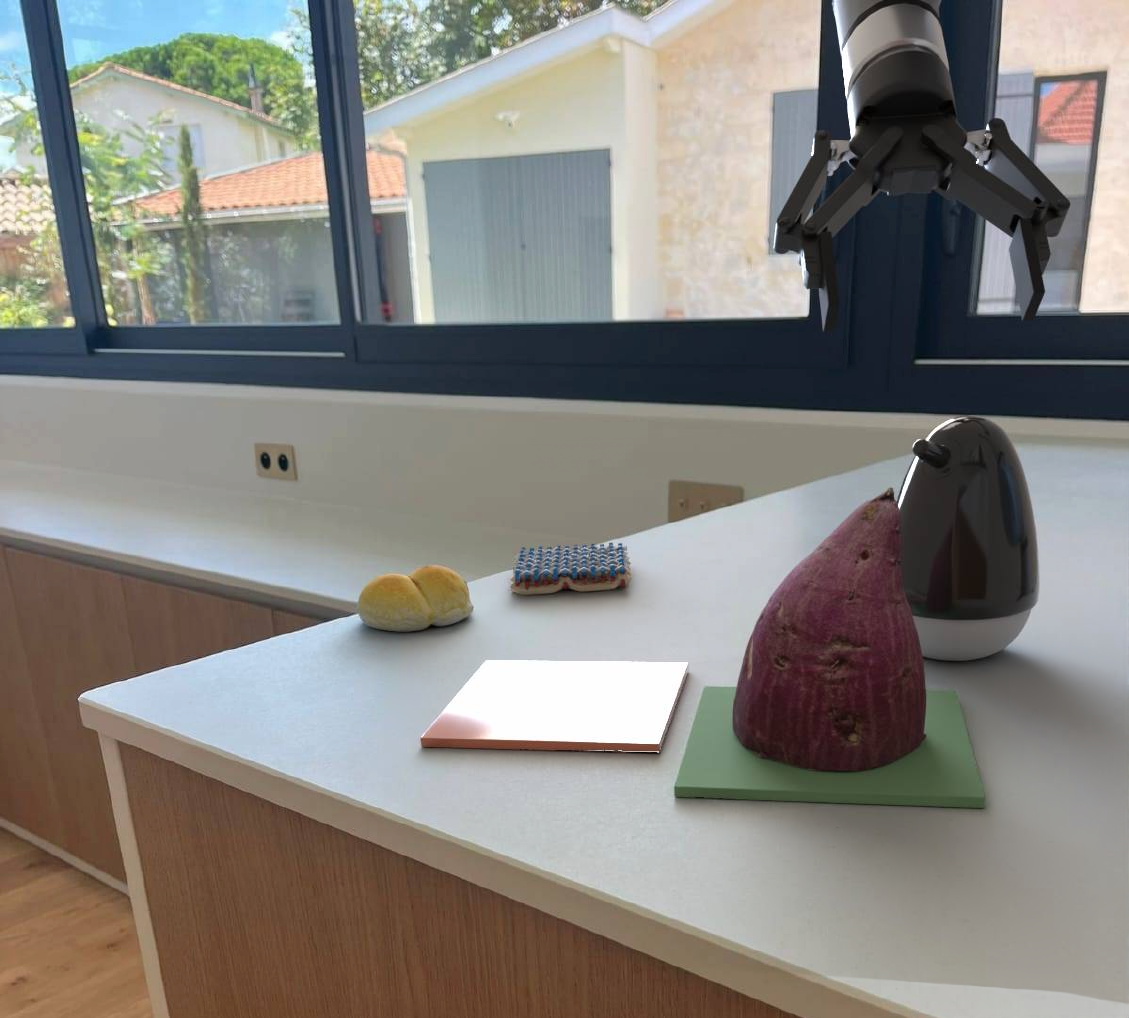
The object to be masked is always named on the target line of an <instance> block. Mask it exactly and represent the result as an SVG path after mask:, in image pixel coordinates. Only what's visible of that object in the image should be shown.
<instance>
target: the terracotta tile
mask: <svg viewBox="0 0 1129 1018" xmlns="http://www.w3.org/2000/svg"><path fill="white" fill-rule="evenodd" d="M689 668H690V667H689V663H688V662H659V661H657V662H655V661H654V662H647V661H633V662H632V661H568V660H567V661H562V660H561V661H560V660H558V661H555V660H551V661H550V660H485V661H484V662H483V663H482V664H481V665H480V667H479V668H478V669H477V670H476V671H475V673H474V674H473V675H472V676H471V677H470V678H469V680H468V681H467V682H466V683H465V685H463V687H462V688H461V689H460V690H459V692H458V693H457V694H456V695H455V696H454V698H453V699H451V700H450V702H449V704H447V706H446V707H445V708H444V709H443V711H441V713H440V714H439V715H438V716H437V717H436V718H435V720H433V722H432V723H431V724H430V726H429V727H428V728H427V729H426V730H425V732H424V733H423V734H422V735H421V736H420V739H419V740H420V745H421V747H423V748H449V749H450V748H452V749H453V748H455V749H486V750H487V749H491V750H492V749H493V750H520V749H522V750H524V749H528V750H527V751H555V750H572V751H571V752H574V751H573V750H579V751H578V752H582V751H581V750H587V751H586V752H589V751H588V750H604V751H605V750H614V751H618V750H622V751H660V748H661V746H662V747H663V745H662V743H663V744H664V742H663V740H664V741H665V739H664V737H665V738H666V736H665V734H666V732H667V733H668V731H667V730H669V728H670V725H671V722H670V720H671V721H672V719H673V717H674V714H673V713H675V711H674V710H676V708H675V706H676V707H677V705H678V702H677V700H678V701H679V699H680V696H681V693H682V691H681V690H683V688H682V687H684V685H685V681H686V679H687V676H688V673H689V670H690V669H689ZM683 684H684V685H683ZM676 704H677V705H676ZM671 718H672V719H671ZM669 724H670V725H669ZM668 727H669V728H668ZM666 735H667V734H666ZM533 749H534V750H533ZM661 749H662V748H661ZM660 752H661V751H660Z"/></svg>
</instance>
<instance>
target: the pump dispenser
mask: <svg viewBox="0 0 1129 1018" xmlns="http://www.w3.org/2000/svg"><path fill="white" fill-rule="evenodd" d="M911 450H912V453H913V455H914V457H913V458H912V460H911V462H910V464H909V466H908V468H907V471H906V473H905V475H904V477H903V480H902V482H901V485H900V488H899V489H898V493H897V496H896V498H895V500H896V502H897V504H898V506H899V510H900V514H901V548H900V564H901V571H902V575H903V576H902V583H903V588H904V592H905V595H906V599H907V602H908V604H909V607H910V610H911V613H912V616H913V619H914V622H915V626H916V629H917V632H918V636H919V641H920V646H921V652H922V657H923V658H927V659H932V660H938V661H947V662H965V661H966V662H967V661H974V660H979V659H983V658H985V657H986V658H987V657H989V656H991V655H994V654H997V653H998V652H1001V651H1002V650H1004V649H1005V648H1006V647H1008V646H1009V645H1010V644H1012V643H1013V641H1015V640H1016V639H1017V637H1018V636H1019V635H1020V634H1021V633H1022V631H1023V629H1025V626H1026V624H1027V622H1028V620H1029V617H1030V614H1031V611H1032V609H1033V608H1034V607H1036V605H1037V604H1038V602H1039V597H1040V584H1041V577H1040V576H1041V573H1040V571H1041V569H1040V554H1039V553H1040V552H1039V542H1038V541H1039V540H1038V532H1037V525H1036V518H1035V512H1034V508H1033V503H1032V498H1031V492H1030V489H1029V485H1028V481H1027V477H1026V474H1025V470H1024V468H1023V464H1022V461H1021V459H1020V456H1019V454H1018V452H1017V450H1016V447H1015V446H1014V444H1013V441H1012V440H1011V438H1010V437H1009V435H1008V434H1007V432H1006V431H1005V429H1004V428H1002V427H1001V426H1000V425H999V424H997V423H996V422H994V421H993V420H991V419H989V418H986V417H985V416H984V417H983V416H979V415H972V414H971V415H969V414H967V415H960V416H955V417H953V418H950V419H947V420H945V421H944V422H942V423H940V424H939V425H937V426H936V427H935V428H934V429H932V431H931V432H930V433H929V434H928V435H927V437H926V438H925V439H924V438H920V439H916V441H915V442H914V443H913V445H912V447H911Z"/></svg>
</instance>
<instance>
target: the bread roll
mask: <svg viewBox="0 0 1129 1018" xmlns="http://www.w3.org/2000/svg"><path fill="white" fill-rule="evenodd" d="M356 607H357V614H358V616H359V618H360V620H361V621H362V623H363V624H365V625H366V626H368V627H370V628H373V629H375V630H382V631H389V632H390V631H391V632H396V633H397V632H399V633H400V632H402V633H407V632H414V631H416V632H417V631H418V632H419V631H423V630H426V629H427V628H429V627H430V626H431V625H432V626H435V627H446V626H449V625H453V624H456V623H459V622H460V621H462V620H464V619H466V618H467V617H469V616H470V615H471V614H472V613H473V612H474V607H475V606H474V604H472V601H471V598H470V589H469V586H468V583H467V581H465V579H463V578H462V577H461V576H460V574H458V573H457V572H456V571H455V570H453V569H451V568H448V567H446V566H442V565H435V564H430V565H429V564H428V565H423V566H421V567H418V568H417V569H416V570H414V571H412V572H411V573H410V574H408V575H405V574H400V573H384V574H381V575H379V576H376V577H375V578H373V579H372V580H370V581H369V582H368V583H367V584H366V585H365V586H364V587H363V589H362V590H361V592H360V594H359V597H358V601H357V606H356Z"/></svg>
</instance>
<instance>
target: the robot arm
mask: <svg viewBox="0 0 1129 1018" xmlns="http://www.w3.org/2000/svg"><path fill="white" fill-rule="evenodd" d="M831 1H832V2H831V7H832V11H833V15H834V18H835V24H836V30H837V38H838V45H839V51H840V58H841V62H842V70H843V78H844V80H843V81H844V88H845V98H846V102H847V115H848V122H849V129H850V137H851V138H850V139H848V140H847V139H846V140H845V139H844V140H843V139H842V140H841V139H840V140H839V139H833V140H832V133H831V132H830V131H829V130H827V129H819V130H817V131H816V132H815V133H814V136H813V142H812V143H813V144H812V150H811V151H812V152H811V157H810V159H809V160H808V162H807V164H806V165H805V167H804V169H803V171H802V172H801V175H800V176H799V178H798V180H797V182H796V184H795V186H794V188H793V189H792V190H791V193H790V195H789V196H788V198H787V200H786V202H785V204H784V206H783V207H782V209H781V211H780V213H779V214H778V217H777V219H776V223H775V230H774V231H775V232H774V238H773V239H774V240H773V251H774V252H775V253H776V254H778V255H785V254H787V253H789V252H794V253H795V254H798V257H797V258H798V259H797V263H798V265H799V266H800V267H801V273H802V275H801V276H802V282H803V286H804V287H805V289H806V290H816V289H817V290H818V297H819V305H820V306H819V307H820V315H821V323H822V333H823V334H826V333H827V334H828V333H835V330H836V326H837V320H838V314H839V310H840V305H841V304H840V296H839V294H840V293H839V286H838V277H837V269H836V260H835V252H834V243H833V238H834V237H835V236H836V235H837V233H839V231H840V230H841V229H842V228H843V227H844V226H845V225H846V224H847V223H848V222H849V221H850V220H851V219H852V217H853V216H854V215H856V214H857V212H858V211H859V210H861V208H862V207H867V206H868V205H869V204H870V203H871V202H872V201H873V199H874V198H876V197H877V195H879V193H880V192H883V193H887V196H888V197H891V196H892V197H893V196H901V195H904V194H907V193H908V194H909V193H910V194H920V195H921V194H931V193H932V190H933V191H935V192H936V193H937V194H939V195H940V196H941V197H943V198H945V199H946V200H947V201H949V202H952V201H954V200H956V201H958V202H959V203H961V204H963V205H964V206H965V207H967V208H969V209H970V210H971V211H973V212H974V213H975V214H976V215H978V216H980V217H981V218H983V219H984V220H986V221H987V222H989V223H990V224H991V225H993V226H994V227H995V228H997V229H999V230H1000V231H1002V232H1003V233H1004V234H1006V235H1007V236H1008V237H1010V238H1011V241H1010V245H1009V248H1008V253H1009V258H1010V263H1011V264H1010V265H1011V270H1012V275H1013V279H1014V280H1013V281H1014V285H1015V291H1016V296H1017V300H1018V307H1019V311H1020V316H1021V321H1022V322H1032V321H1033V322H1034V320H1035V317H1036V316H1037V313H1038V311H1039V308H1040V306H1041V304H1042V300H1043V299H1044V295H1045V293H1046V289H1045V284H1044V278H1043V275H1044V274H1045V271H1046V268H1047V266H1048V263H1049V261H1050V258H1051V255H1052V254H1051V249H1050V244H1049V239H1048V238H1055V237H1057V236H1059V234H1060V233H1061V230H1062V228H1063V225H1064V223H1065V221H1066V217H1067V215H1068V212H1069V210H1070V208H1071V201H1070V199H1068V197H1066V196H1065V194H1064V193H1063V192H1062V191H1061V190H1060V189H1059V188H1058V187H1057V186H1056V185H1055V184H1054V183H1053V182H1052V180H1050V178H1049V177H1048V176H1046V175H1045V174H1044V172H1043V171H1041V169H1040V168H1039V167H1038V166H1037V165H1036V164H1035V163H1034V162H1033V160H1031V159H1030V158H1029V156H1027V155H1026V153H1025V152H1024V151H1023V150H1022V149H1021V148H1020V147H1019V146H1018V145H1017V143H1016V142H1014V140H1012V138H1011V136H1010V132H1009V130H1008V127H1007V125H1006V121H1005V120H1003V119H1002V118H999V117H994V118H991V119H989V120H988V121H987V125H986V128H985V129H981V130H973V131H966V129H965V128H964V127H963V126H962V125H961V124H960V123H959V122H958V116H957V115H958V114H957V106H956V101H955V96H954V95H955V94H954V90H953V83H952V79H951V78H952V77H951V74H950V65H949V61H948V55H947V50H946V45H945V40H944V35H943V26H942V22H941V19H940V11H939V10H940V5H941V2H942V1H943V0H831ZM976 160H977V161H976ZM843 162H847V163H848V166H850V167H851V169H853V170H854V171H853V172H851V174H850V175H848V177H847V178H846V179H845V180H844V181H843V182H842V183H841V184H840V185H839V186H838V187H837V188H836V190H834V192H833V193H831V195H829V197H827V199H826V200H825V201H824V202H823V203H822V204H821V205H820V206H819V208H817V209H816V210H815V211H814V212H813V213H812V214H811V216H809V215H810V213H811V212H812V209H813V207H814V205H815V204H816V202H817V200H818V198H819V196H820V195H821V193H822V190H823V189H824V187H825V184H826V181H827V176H828V177H831V176H833V175H834V171H836V170H838V168H839V166H840V164H841V163H843ZM950 174H951V175H950ZM949 175H950V177H949Z"/></svg>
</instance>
